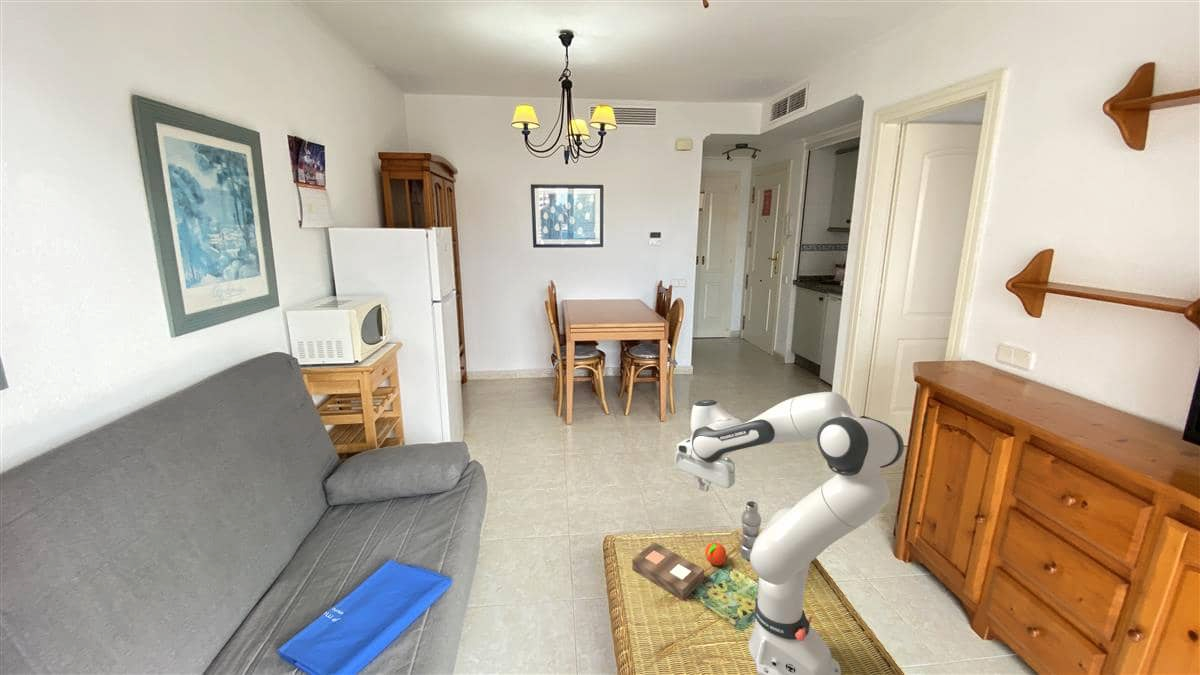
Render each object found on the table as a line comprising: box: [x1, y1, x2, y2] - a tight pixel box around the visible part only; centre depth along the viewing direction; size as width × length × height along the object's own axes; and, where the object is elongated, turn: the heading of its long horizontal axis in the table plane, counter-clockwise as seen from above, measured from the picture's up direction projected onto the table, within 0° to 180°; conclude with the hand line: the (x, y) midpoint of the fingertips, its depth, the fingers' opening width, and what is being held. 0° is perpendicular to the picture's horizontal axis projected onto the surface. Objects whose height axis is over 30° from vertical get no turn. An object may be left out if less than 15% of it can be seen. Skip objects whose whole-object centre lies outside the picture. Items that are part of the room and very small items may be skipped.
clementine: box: [704, 542, 727, 566], centre depth 160 cm, size 8×7×7 cm
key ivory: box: [669, 564, 691, 580], centre depth 152 cm, size 5×5×3 cm
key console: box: [631, 542, 705, 602], centre depth 156 cm, size 20×12×4 cm, turn 46°
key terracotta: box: [645, 550, 666, 565], centre depth 159 cm, size 5×5×3 cm
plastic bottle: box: [739, 500, 762, 561], centre depth 162 cm, size 6×7×20 cm
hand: (703, 489), depth 152 cm, fingers closed
